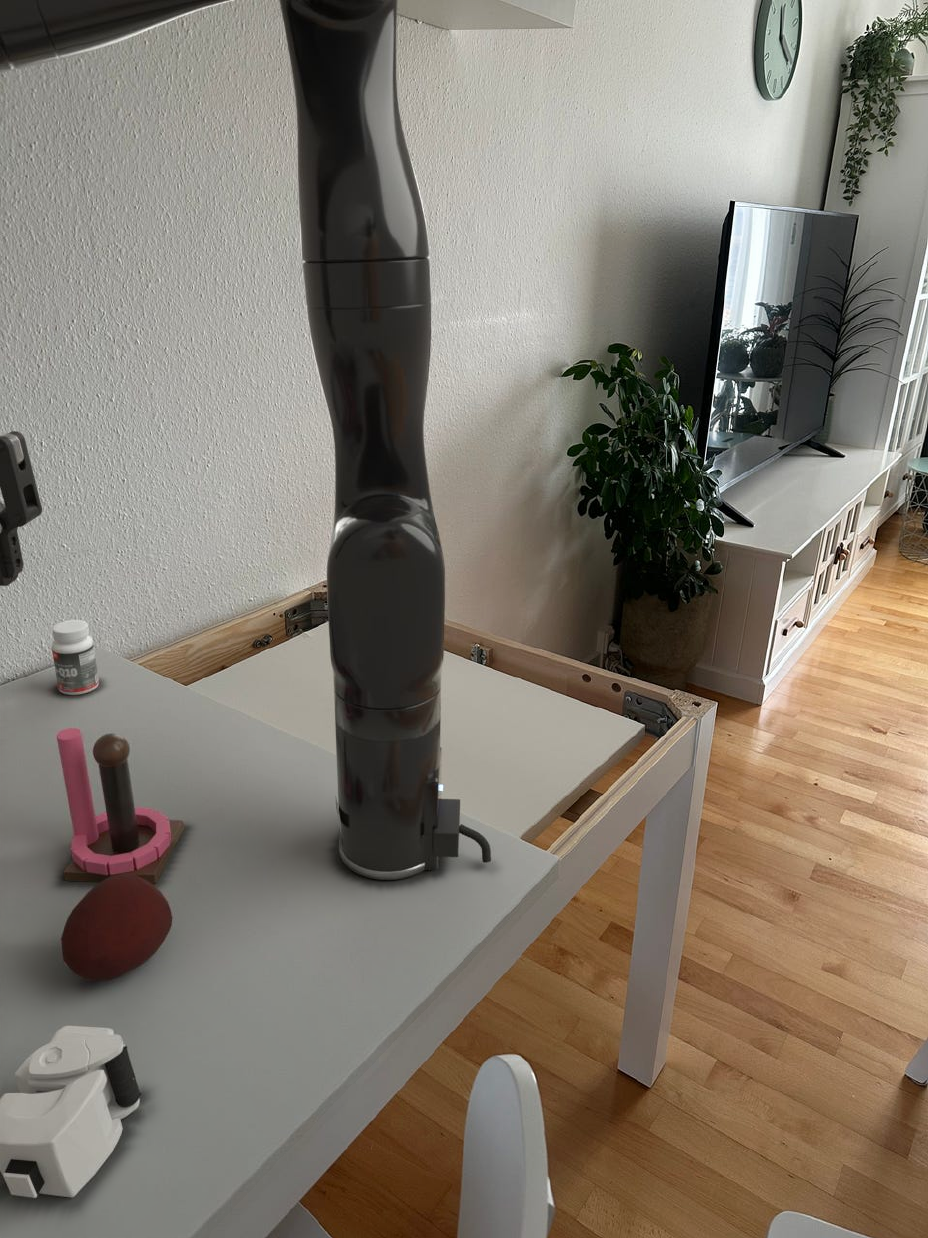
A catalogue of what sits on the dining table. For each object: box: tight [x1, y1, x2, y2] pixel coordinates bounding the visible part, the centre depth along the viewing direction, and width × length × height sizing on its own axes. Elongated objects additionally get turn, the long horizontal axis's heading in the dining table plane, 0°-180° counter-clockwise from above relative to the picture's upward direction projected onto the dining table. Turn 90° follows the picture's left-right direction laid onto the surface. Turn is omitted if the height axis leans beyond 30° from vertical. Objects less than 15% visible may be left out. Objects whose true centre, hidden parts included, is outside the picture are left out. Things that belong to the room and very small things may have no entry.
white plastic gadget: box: [0, 1025, 142, 1199], centre depth 55 cm, size 6×7×10 cm
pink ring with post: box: [56, 727, 171, 875], centre depth 80 cm, size 9×8×11 cm
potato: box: [60, 874, 173, 982], centre depth 69 cm, size 7×8×7 cm
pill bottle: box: [51, 619, 100, 696], centre depth 110 cm, size 5×5×8 cm
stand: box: [63, 732, 185, 885], centre depth 80 cm, size 8×8×12 cm
